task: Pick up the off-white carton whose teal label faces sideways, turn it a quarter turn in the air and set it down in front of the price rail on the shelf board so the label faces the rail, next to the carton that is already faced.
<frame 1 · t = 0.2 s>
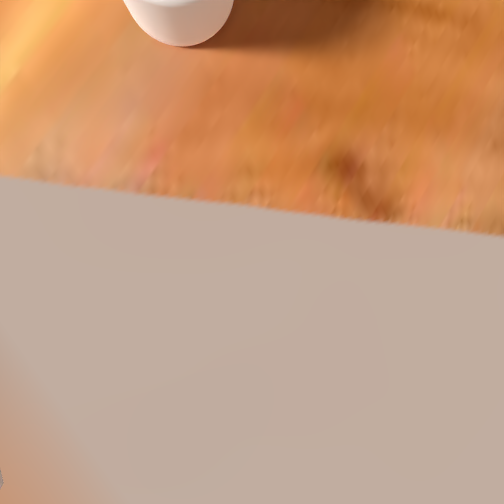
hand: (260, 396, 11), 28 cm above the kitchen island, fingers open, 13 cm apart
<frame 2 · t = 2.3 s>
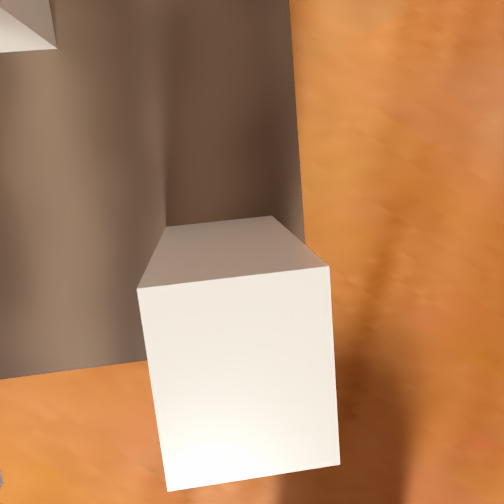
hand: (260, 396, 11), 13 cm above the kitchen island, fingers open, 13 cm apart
tall carton: (226, 282, 22), point 2 cm above the kitchen island, touching shelf board
shelf board: (125, 132, 22), on the kitchen island
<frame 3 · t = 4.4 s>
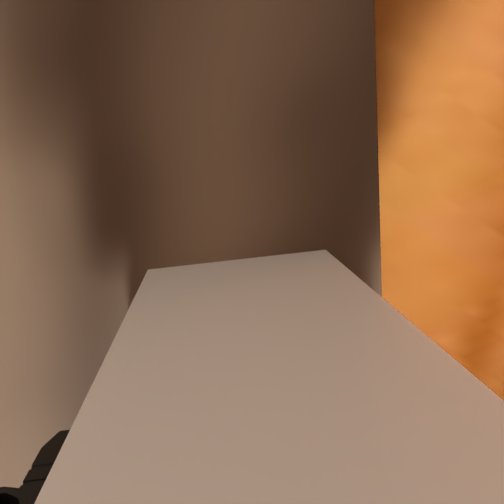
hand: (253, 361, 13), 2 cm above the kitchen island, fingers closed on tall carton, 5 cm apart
tall carton: (248, 357, 13), point 2 cm above the kitchen island, touching gripper, shelf board
shelf board: (86, 109, 13), on the kitchen island
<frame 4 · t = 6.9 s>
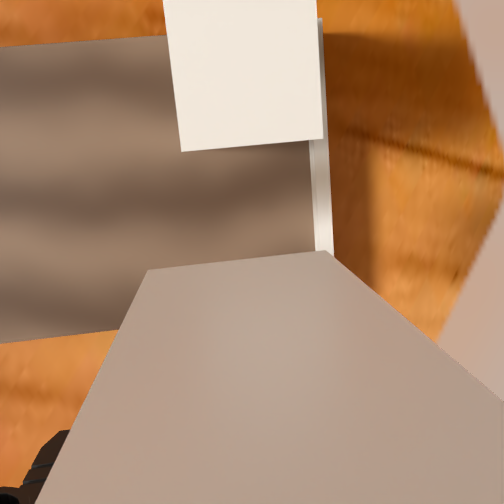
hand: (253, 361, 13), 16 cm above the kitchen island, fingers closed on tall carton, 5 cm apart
faced carton: (229, 90, 25), point 2 cm above the kitchen island, touching shelf board
tall carton: (248, 358, 13), point 16 cm above the kitchen island, touching gripper
shelf board: (137, 189, 28), on the kitchen island
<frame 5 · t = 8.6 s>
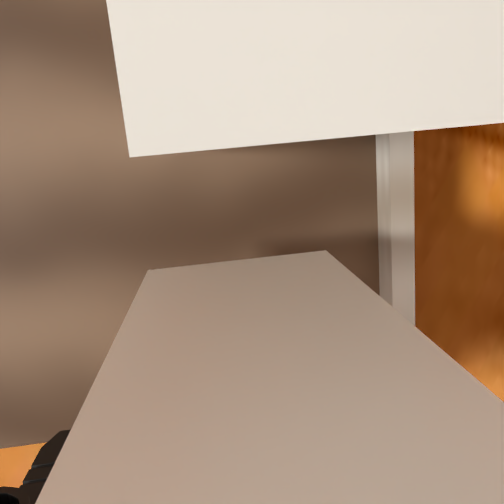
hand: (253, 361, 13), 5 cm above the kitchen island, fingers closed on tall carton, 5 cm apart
faced carton: (244, 46, 15), point 2 cm above the kitchen island, touching shelf board
tall carton: (248, 358, 13), point 5 cm above the kitchen island, touching gripper
shelf board: (94, 213, 17), on the kitchen island
when the fingers open (3 cm above the kitchen island, at t = 9.8 s): tall carton stays where it is, resting on shelf board.
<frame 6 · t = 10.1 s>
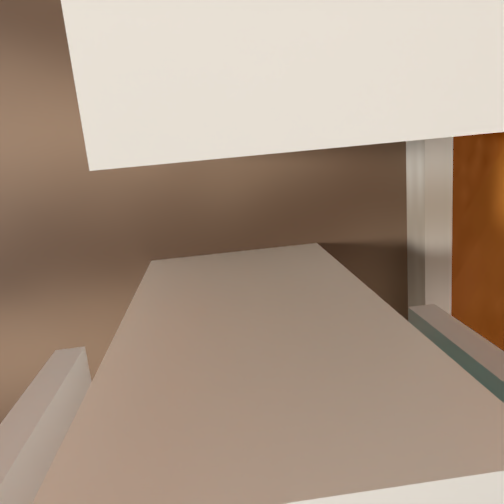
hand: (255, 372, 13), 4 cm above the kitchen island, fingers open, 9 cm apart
faced carton: (255, 33, 12), point 2 cm above the kitchen island, touching shelf board
tall carton: (244, 344, 14), point 2 cm above the kitchen island, touching shelf board
shelf board: (82, 225, 15), on the kitchen island
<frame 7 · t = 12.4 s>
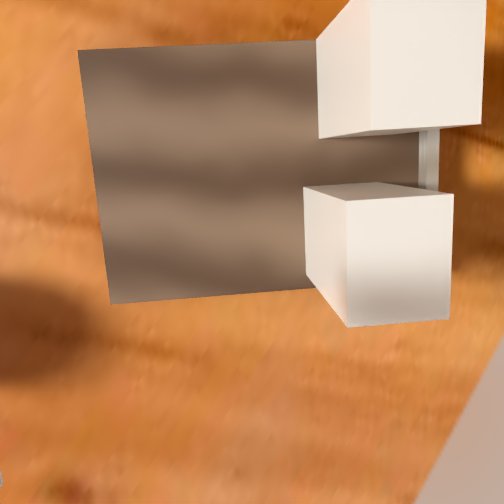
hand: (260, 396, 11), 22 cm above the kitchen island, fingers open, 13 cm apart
faced carton: (356, 88, 29), point 2 cm above the kitchen island, touching shelf board
tall carton: (341, 228, 31), point 2 cm above the kitchen island, touching shelf board
shelf board: (263, 172, 32), on the kitchen island
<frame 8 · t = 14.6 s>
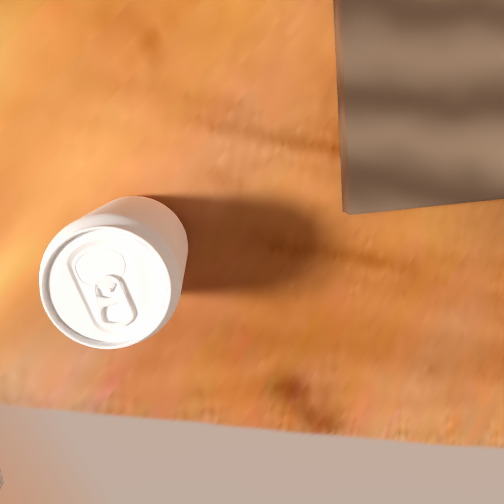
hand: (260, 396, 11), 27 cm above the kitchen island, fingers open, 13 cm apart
shelf board: (471, 99, 37), on the kitchen island
beverage can: (138, 244, 37), on the kitchen island
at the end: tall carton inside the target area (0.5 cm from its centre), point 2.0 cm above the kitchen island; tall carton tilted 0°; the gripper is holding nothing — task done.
